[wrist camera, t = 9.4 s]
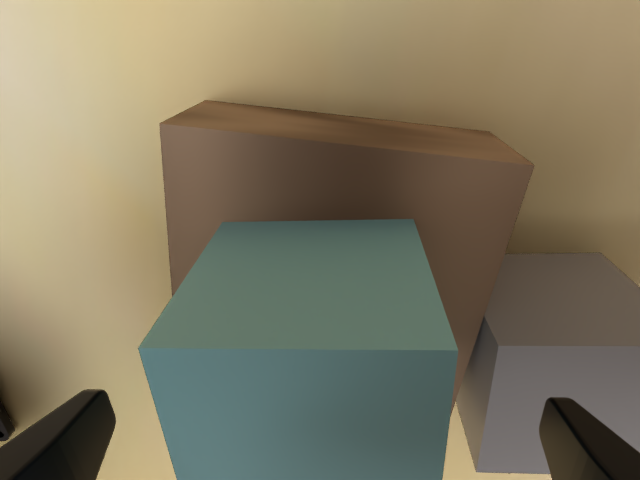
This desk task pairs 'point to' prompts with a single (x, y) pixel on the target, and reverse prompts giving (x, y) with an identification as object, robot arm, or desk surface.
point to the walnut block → (348, 190)
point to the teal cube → (305, 356)
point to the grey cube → (551, 356)
